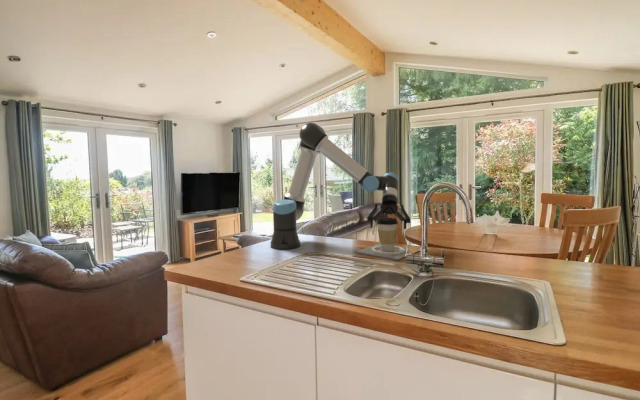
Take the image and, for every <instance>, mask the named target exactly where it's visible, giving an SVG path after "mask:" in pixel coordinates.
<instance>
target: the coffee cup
mask: <svg viewBox="0 0 640 400" xmlns="http://www.w3.org/2000/svg"><path fill="white" fill-rule="evenodd" d="M376 224H377V232H378V241H379V244H380V248H381V251H383V252H392V251H394V246H396V245H395V244H396V238H397V227H398V226H397V225H398V220H397V218H394V217H380V218H378V219H377V220H376Z"/></svg>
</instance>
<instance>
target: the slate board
mask: <svg viewBox="0 0 640 400" xmlns="http://www.w3.org/2000/svg"><path fill="white" fill-rule="evenodd" d="M406 248H407V246H406V247H404V246H399V245H395V246H394V251H392V252H383V251H381V248H380V243H377V244H373V245H371V246H369V247H365V248H362V249H359V250H355V253H356V254H360V255H366V256H372V257H376V258H377V257H378V258H383V259H388V260H392V261H400V260H402V259H405V258H404V256H405V254H406Z"/></svg>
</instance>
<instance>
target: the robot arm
mask: <svg viewBox="0 0 640 400" xmlns="http://www.w3.org/2000/svg"><path fill="white" fill-rule="evenodd" d="M299 139H300V143H299V149H300V151H299V152H300V153H299V156H298V160H297V163H296V166H295V170H294V173H293V176H292V179H291V182H290V186H289V189H288V192H287V193H286V194H284V196H283V199H280V200H276V201H274V202H273V205H272V214H273V215H272V217H273V218H272V219H273V222H272V223H273V234H272V237H271V240H270V248H273V249H276V250H292V249H297V248H299V247H301V240H300V237H299V235H298V232H297V221H299V219H300V218H302V217H303V215H304V214H303V213H304V206H305V203H306V200H305V198H304V196H305V193H306V191H307V187H308V183H309V180H310V178H311V174H312V170H313V167H314V164H315V160H316V157H317V155H319V154H322V155H323V156H324V157H326V158H327V159H328V160H329V161H330V162H331V163H333V164H334V165H335V166H336V167H338V168H339V169H340V170H341V171H343V173H345V174H346V175H347V176H349V177H350V178H351V179H352V180H354V182H356V183H357V184H358V185H359V188H360V189H361V190H365V191H366V192H369V193H373V192H375V191H382V195H381V197H382V198H381V205H378V204H377V203H376V204H375V205H374V208H373V209H372V211H371V212H370V213H369V214H368V216H367V217H366V218H367V222H368V223H370V229H371V233H372V236H373V235H375V229H376V228H375V227H376V222H377V221H378V219H379V218H382V216H384V215H390V216H391V215H394V216H395V217H396V218H398V219H399V221H401V236H402V237H403V236H405V234H404V233H405V230H406V229H407V224H410V223H411V218H410V216H409V214H408V213H407V211H406V209H405V206H404V205H403V204H401V205H398V195H399V194H398V193H399V192H398V191H399V190H398V188H399V178H398V175H397V174H396V173H395V172H393V171H391V172H389V171H388V172H386V173H384V175H382V176H379V175H373V174H372V173H371V172H370V171H368V170H367V169H366V168H364V167H363V166H362V165H361V164H360V163H359V162H357V161H356V160H355V159H354V158H352V157H351V156H350V155H348V154H347V153H346V152H345V151H343V150H342V149H341V148H340V147H339V146H337V145H336V143H334V142H333V141H332V140H331V139H329V136H328V134H326V131H325V130H324V128H323V127H321V126H320V125H319V124H316V123H315V122H307V123H304V125H303V126H301V128H300V131H299ZM398 210H399V211H401V212H399V211H398Z"/></svg>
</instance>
